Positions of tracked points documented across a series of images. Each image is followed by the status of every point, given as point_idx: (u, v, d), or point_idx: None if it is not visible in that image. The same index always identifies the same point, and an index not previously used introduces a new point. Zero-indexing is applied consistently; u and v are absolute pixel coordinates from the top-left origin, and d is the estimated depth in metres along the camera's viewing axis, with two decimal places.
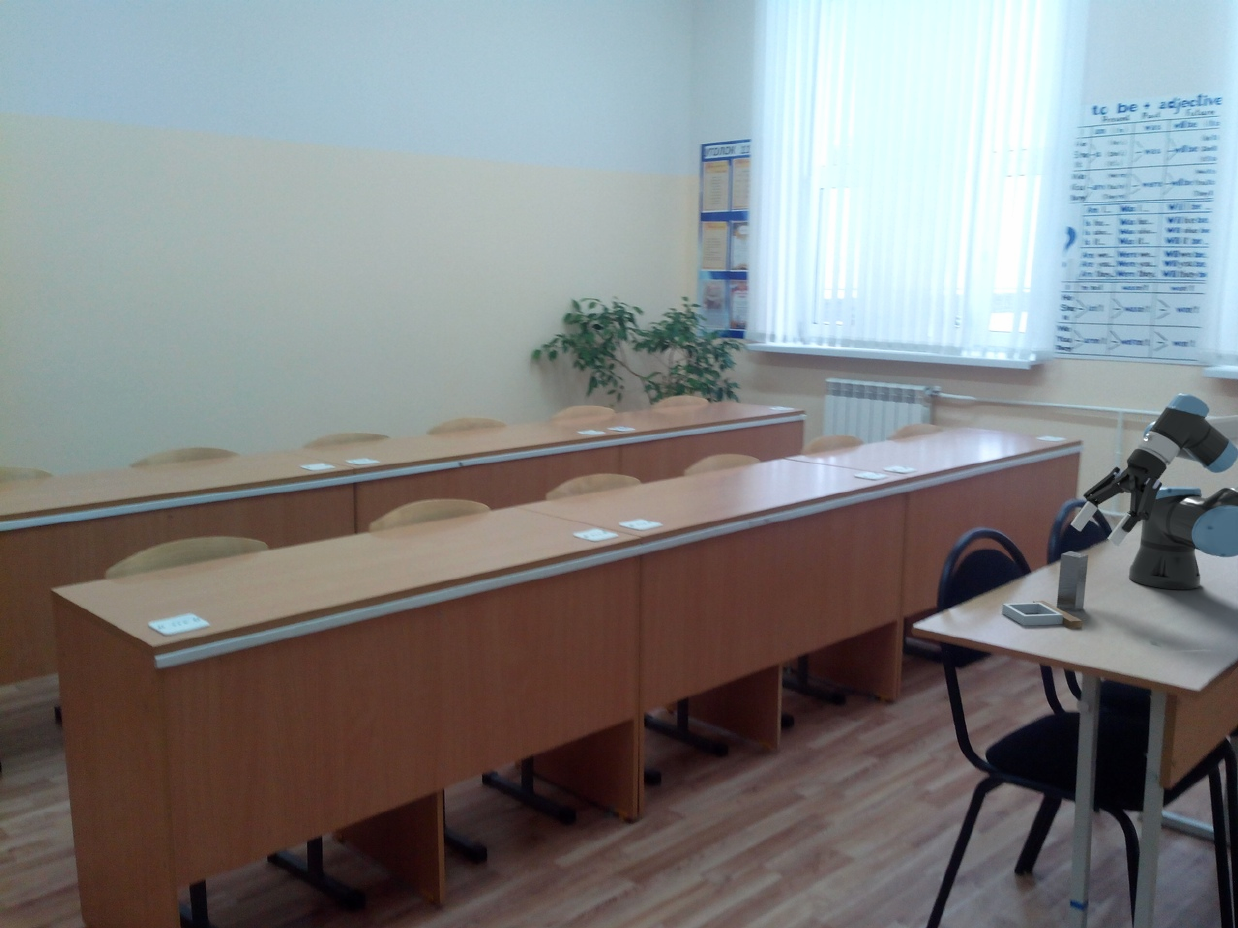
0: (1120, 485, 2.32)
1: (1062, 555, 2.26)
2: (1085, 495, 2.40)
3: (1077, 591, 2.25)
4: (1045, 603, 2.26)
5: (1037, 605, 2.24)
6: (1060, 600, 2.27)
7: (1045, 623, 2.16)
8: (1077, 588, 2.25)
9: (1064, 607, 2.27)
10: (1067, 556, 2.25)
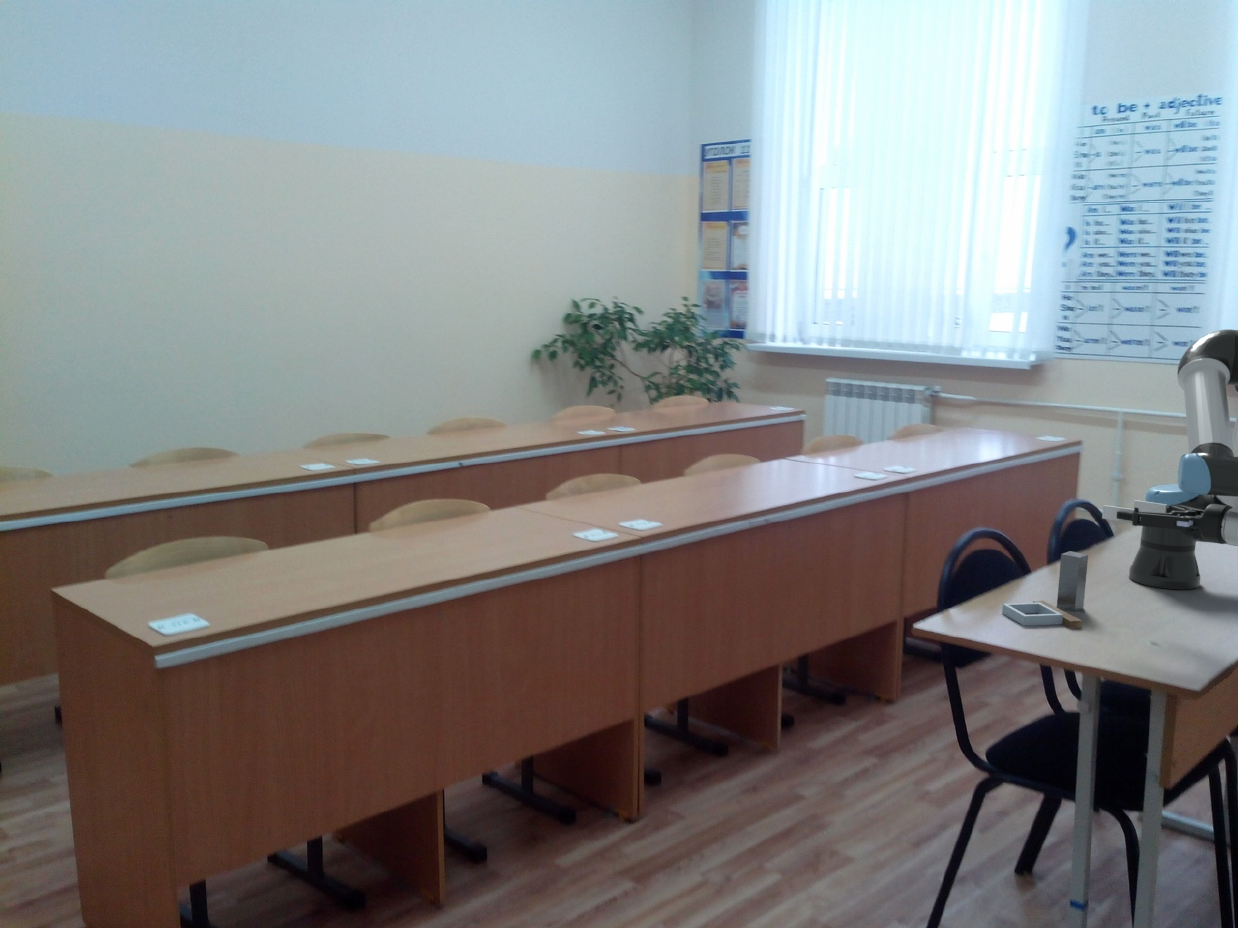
0: None
1: (1062, 555, 2.26)
2: None
3: (1077, 591, 2.25)
4: (1045, 603, 2.26)
5: (1037, 605, 2.24)
6: (1060, 600, 2.27)
7: (1045, 623, 2.16)
8: (1077, 588, 2.25)
9: (1064, 607, 2.27)
10: (1067, 556, 2.25)
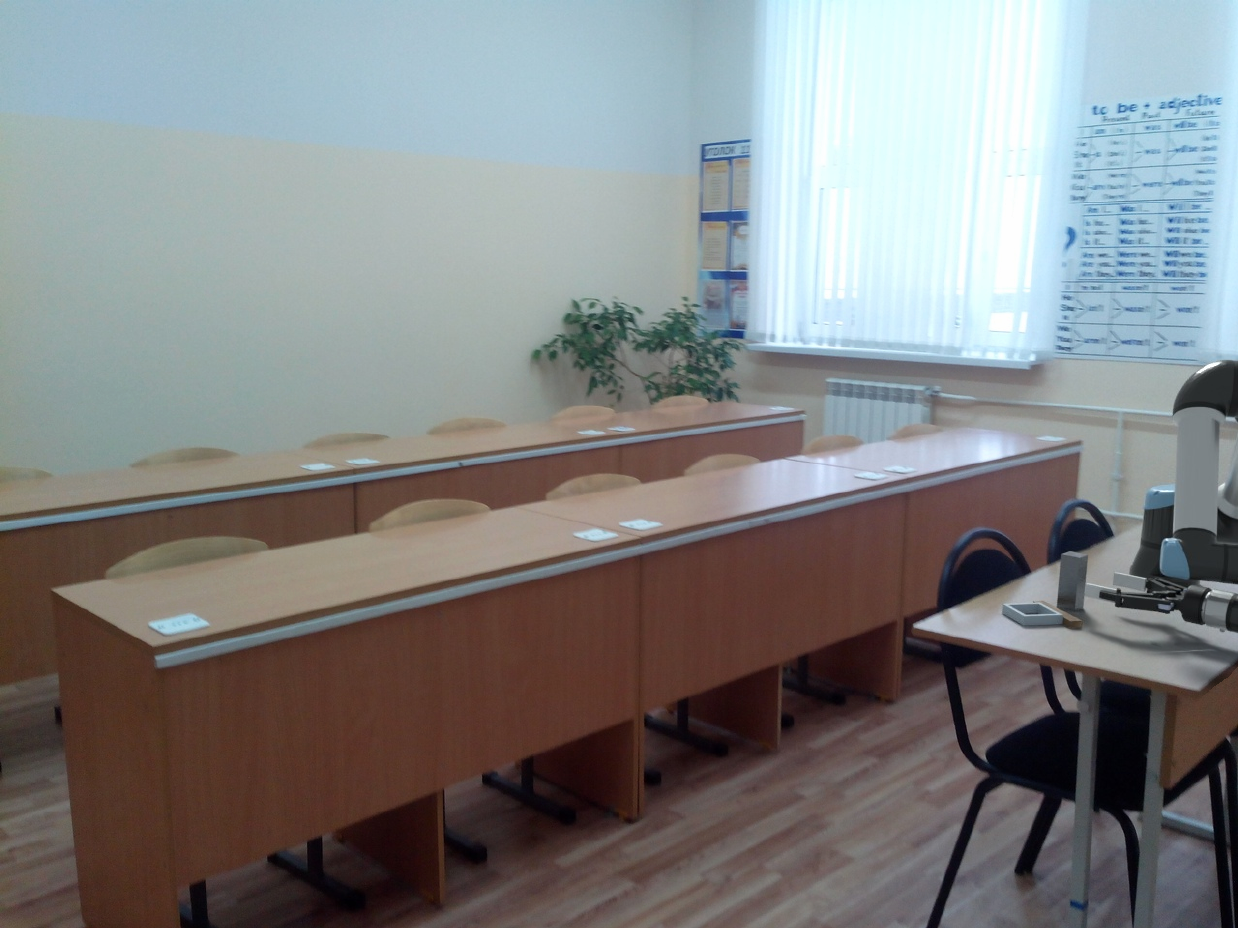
0: None
1: (1062, 555, 2.26)
2: None
3: (1077, 591, 2.25)
4: (1045, 603, 2.26)
5: (1037, 605, 2.24)
6: (1060, 600, 2.27)
7: (1045, 623, 2.16)
8: (1077, 588, 2.25)
9: (1064, 607, 2.27)
10: (1067, 556, 2.25)
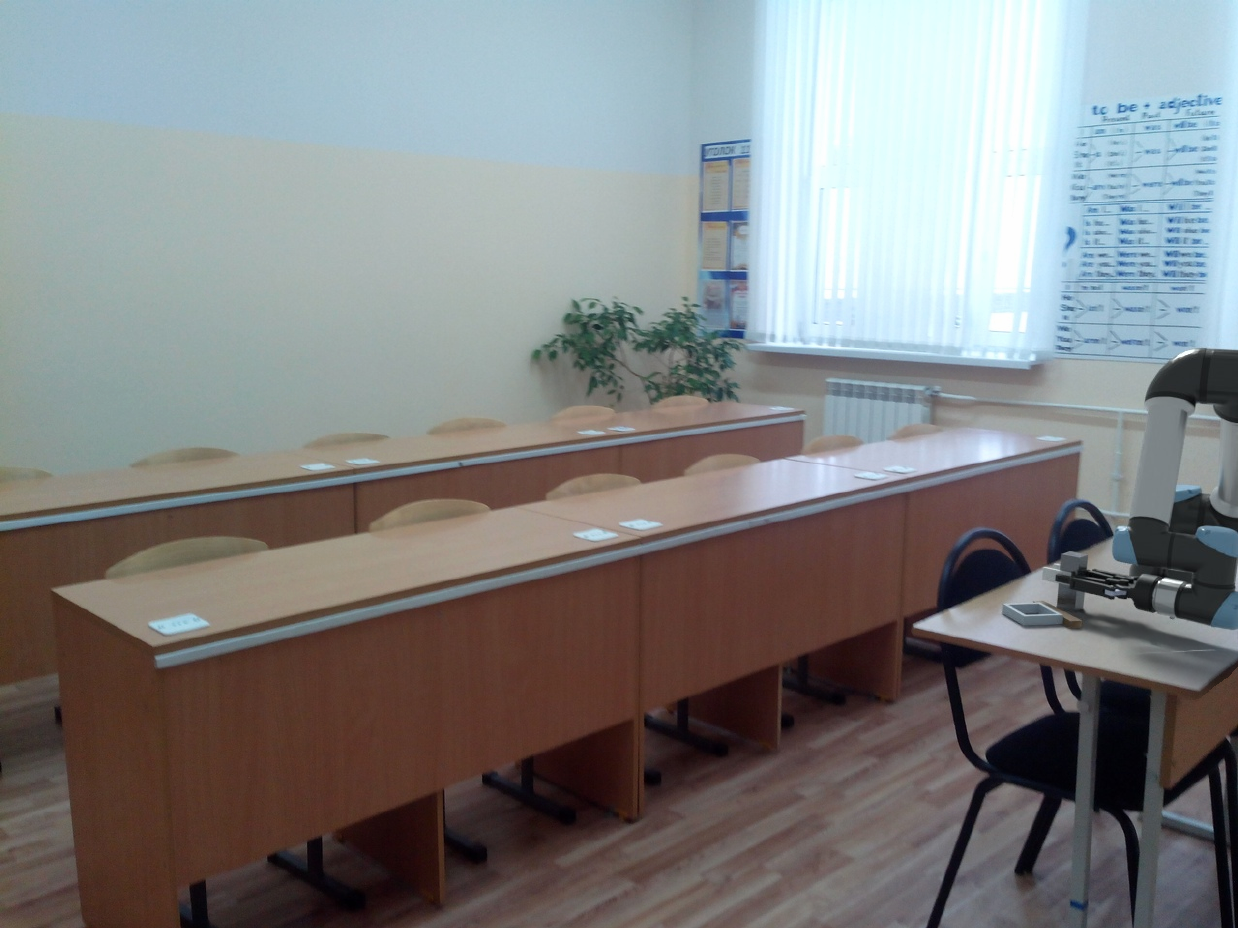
0: None
1: (1062, 555, 2.26)
2: None
3: (1077, 591, 2.25)
4: (1045, 603, 2.26)
5: (1037, 605, 2.24)
6: (1060, 600, 2.27)
7: (1045, 623, 2.16)
8: None
9: (1064, 607, 2.27)
10: (1067, 556, 2.25)
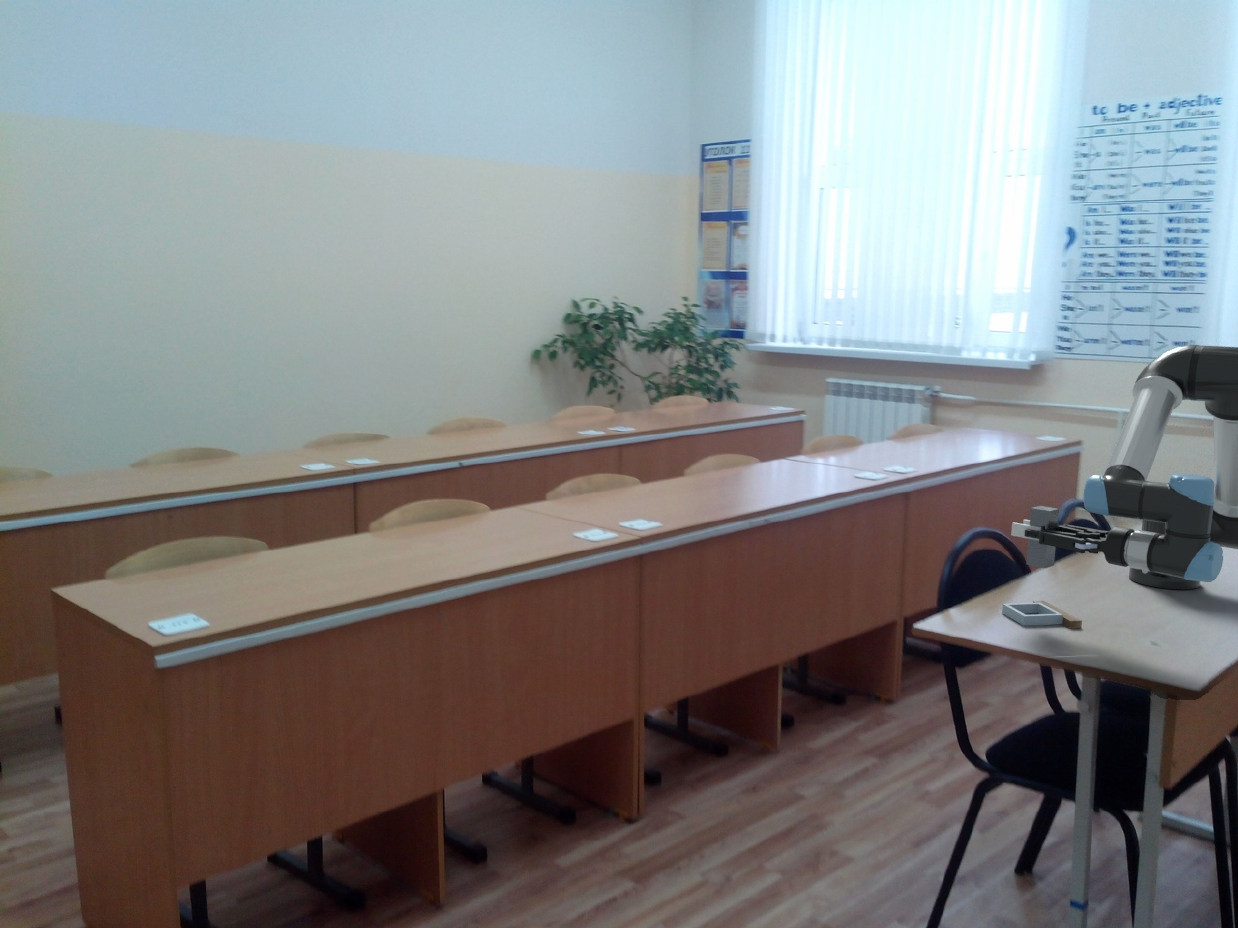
0: None
1: (1032, 509, 2.17)
2: None
3: (1047, 547, 2.15)
4: (1045, 603, 2.26)
5: (1037, 605, 2.24)
6: (1030, 556, 2.18)
7: (1045, 623, 2.16)
8: None
9: (1034, 564, 2.17)
10: (1037, 510, 2.16)
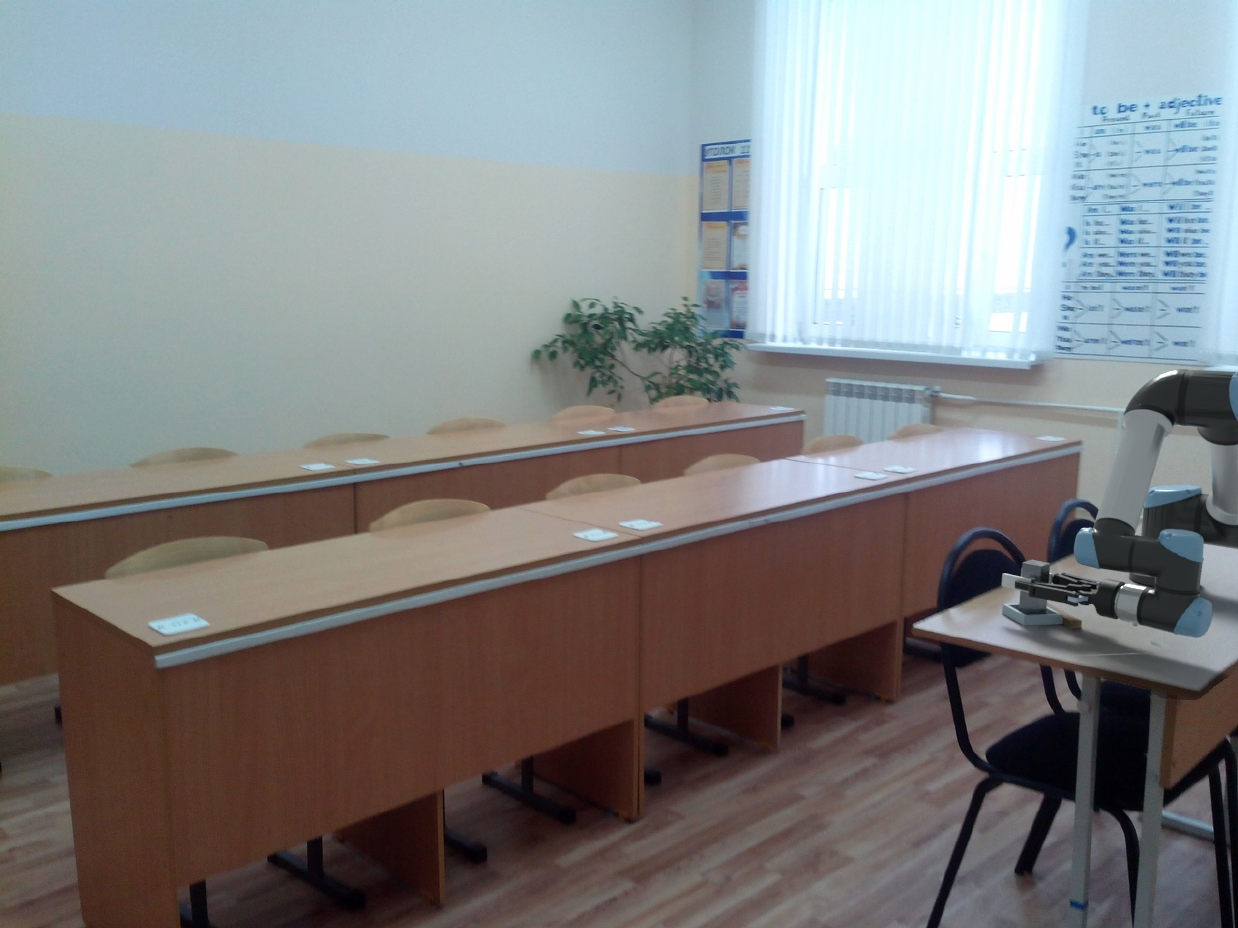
0: None
1: (1023, 564, 2.18)
2: None
3: (1039, 601, 2.17)
4: None
5: None
6: (1022, 610, 2.19)
7: (1045, 623, 2.16)
8: (1039, 598, 2.17)
9: None
10: (1028, 565, 2.17)
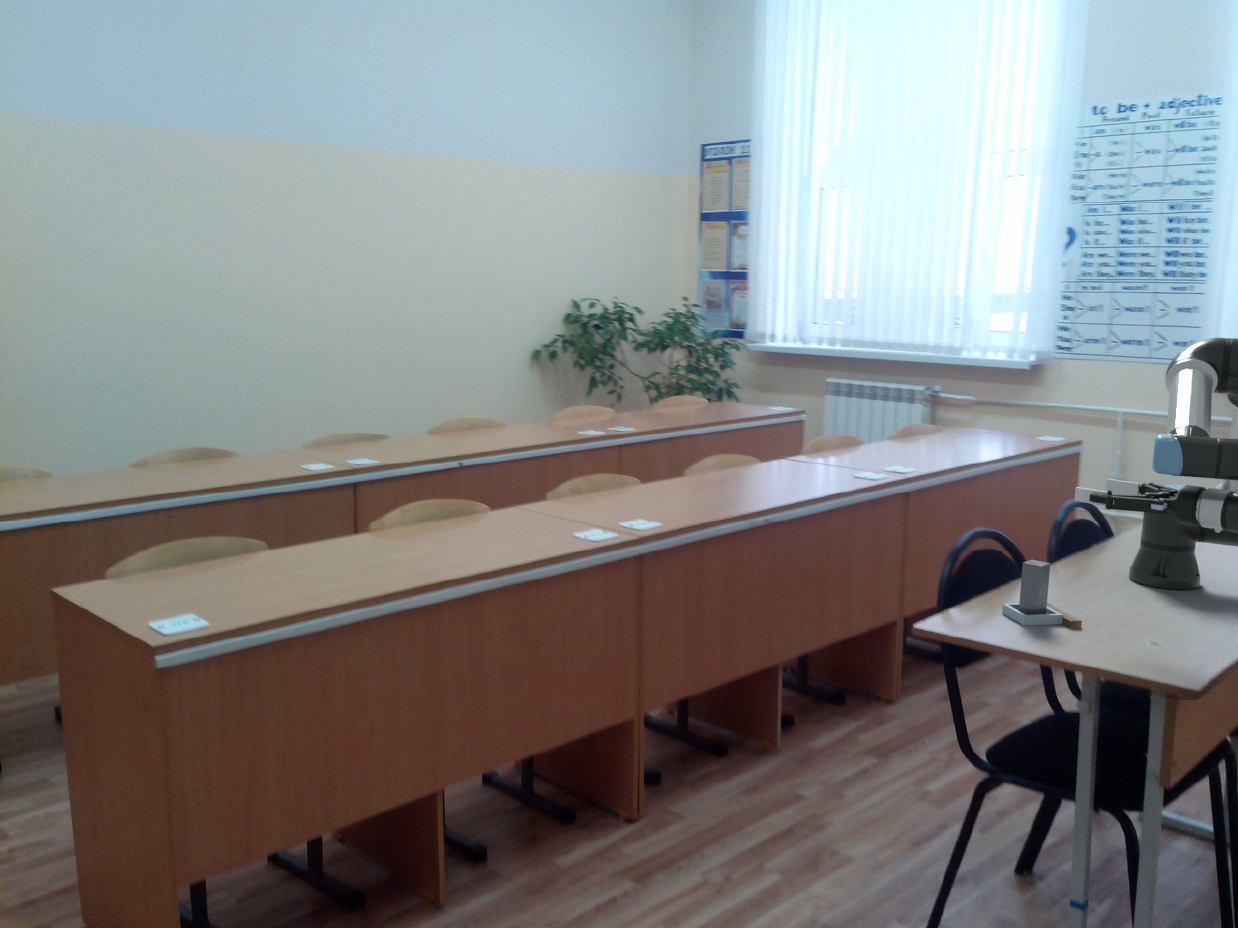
0: None
1: (1023, 564, 2.18)
2: None
3: (1039, 601, 2.17)
4: None
5: None
6: (1022, 610, 2.19)
7: (1045, 623, 2.16)
8: (1039, 598, 2.17)
9: None
10: (1028, 565, 2.17)
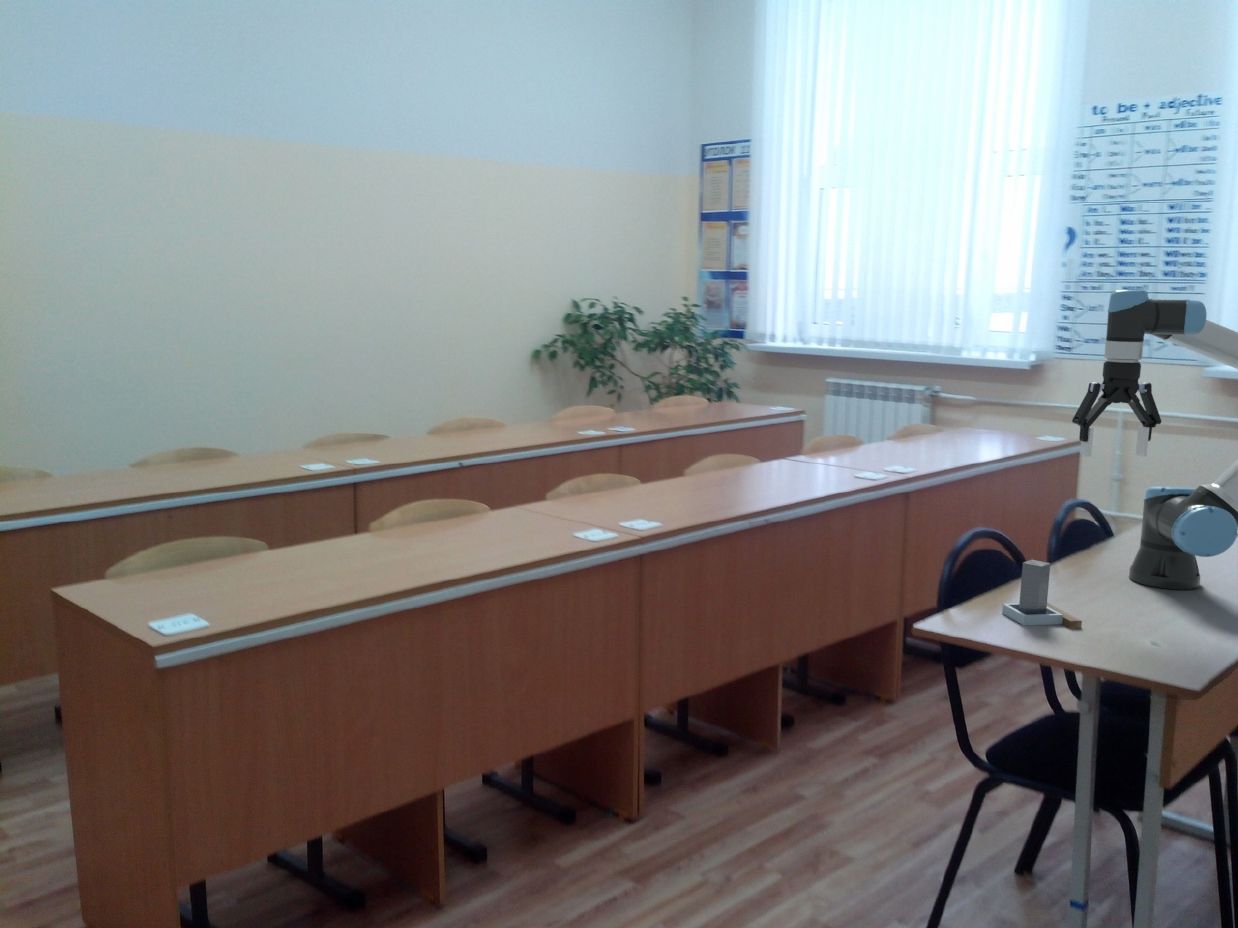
0: None
1: (1023, 564, 2.18)
2: None
3: (1039, 601, 2.17)
4: None
5: None
6: (1022, 610, 2.19)
7: (1045, 623, 2.16)
8: (1039, 598, 2.17)
9: None
10: (1028, 565, 2.17)
